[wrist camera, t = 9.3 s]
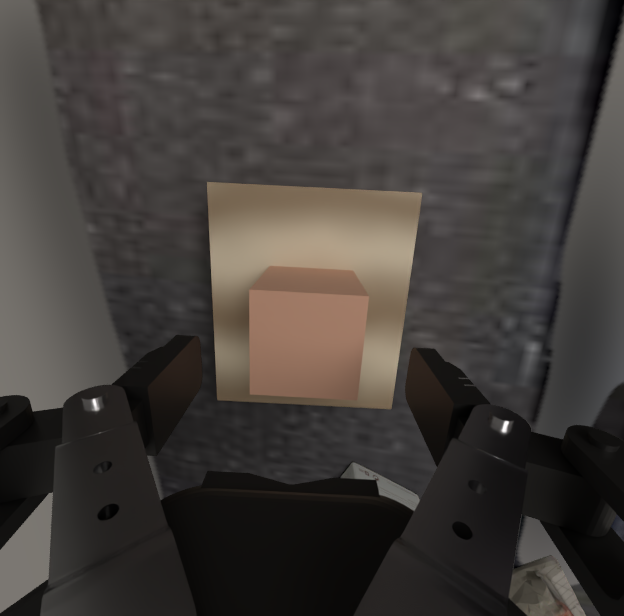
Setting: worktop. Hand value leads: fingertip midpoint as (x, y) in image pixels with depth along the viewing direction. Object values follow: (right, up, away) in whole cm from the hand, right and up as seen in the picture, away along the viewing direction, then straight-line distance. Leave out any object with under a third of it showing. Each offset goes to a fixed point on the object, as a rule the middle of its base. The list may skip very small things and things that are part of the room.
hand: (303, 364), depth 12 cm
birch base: (0, +3, +11) cm, 12 cm away
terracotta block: (0, +2, +8) cm, 8 cm away
